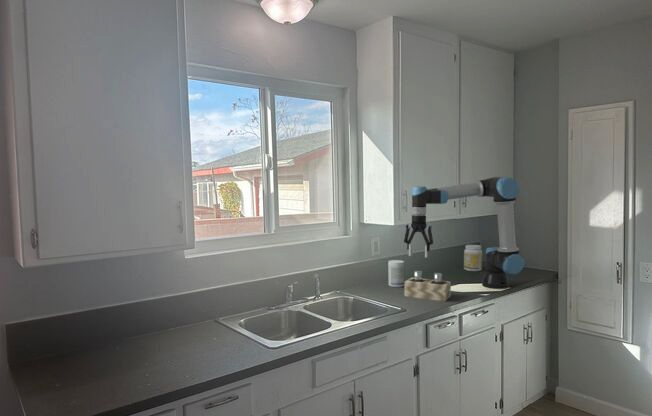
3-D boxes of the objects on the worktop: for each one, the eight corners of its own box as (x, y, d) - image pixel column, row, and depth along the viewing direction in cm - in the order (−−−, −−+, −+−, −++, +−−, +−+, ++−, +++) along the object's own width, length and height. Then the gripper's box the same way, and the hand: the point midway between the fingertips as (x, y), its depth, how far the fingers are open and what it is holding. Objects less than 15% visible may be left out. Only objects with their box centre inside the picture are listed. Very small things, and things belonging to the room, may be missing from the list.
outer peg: (422, 284, 254) (422, 271, 254) (420, 285, 251) (420, 272, 250) (415, 283, 256) (415, 270, 256) (413, 284, 253) (413, 271, 252)
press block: (450, 296, 252) (450, 281, 251) (445, 301, 241) (445, 285, 240) (411, 291, 262) (411, 277, 261) (404, 296, 251) (404, 281, 251)
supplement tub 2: (470, 267, 332) (471, 244, 331) (485, 270, 322) (486, 246, 321) (459, 269, 325) (460, 245, 324) (474, 272, 315) (475, 247, 314)
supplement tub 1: (407, 286, 274) (408, 261, 273) (395, 288, 269) (396, 263, 268) (396, 283, 282) (397, 259, 281) (384, 285, 277) (385, 260, 276)
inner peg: (442, 286, 249) (442, 273, 249) (440, 288, 246) (440, 274, 245) (435, 285, 251) (435, 272, 251) (433, 287, 248) (433, 273, 247)
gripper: (397, 214, 253) (397, 255, 254) (436, 216, 243) (435, 259, 244) (402, 213, 259) (401, 253, 261) (440, 215, 249) (439, 257, 251)
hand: (418, 256), depth 253 cm, fingers open, 8 cm apart
